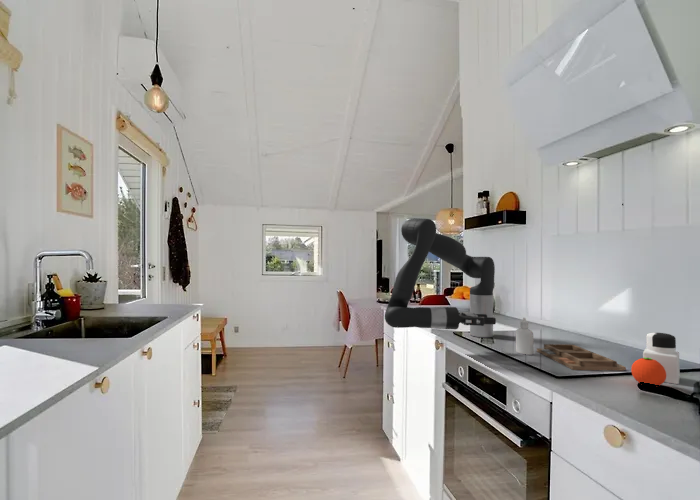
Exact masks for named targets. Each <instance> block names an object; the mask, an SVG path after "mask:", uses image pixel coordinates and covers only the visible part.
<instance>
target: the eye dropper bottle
mask: <svg viewBox="0 0 700 500" xmlns="http://www.w3.org/2000/svg"><path fill="white" fill-rule="evenodd" d="M519 324H520V327H519V328H518V329H515V352H516V353H517V354H521V355H525V354H526V355H527V356H531V355H532V356H533V355H534V353H535V349H534V348H535V347H534V344H535V343H534V332H533V331H532V330H531V329H529V322H528V321H527V318H526V317H523V318H522V320H521V321H520V323H519Z"/></svg>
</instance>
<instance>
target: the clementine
mask: <svg viewBox="0 0 700 500" xmlns="http://www.w3.org/2000/svg"><path fill="white" fill-rule="evenodd" d="M630 370H631V375H632V378H634V379H635V381H637V382H638V383H639V384H640V382H644V383H650V384H655V385H659V386H661V385H663V384H664V383H665V382H664V381H665V380H666V371H665V369H664V367H663V366H662V365H661V364H660V363H659V362H657V361H656V360H653V359H651V358H643V357H642V358H639V359H637V360H635V361H634V362H633V363H632V364H631V369H630Z"/></svg>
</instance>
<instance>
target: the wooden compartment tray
mask: <svg viewBox="0 0 700 500" xmlns="http://www.w3.org/2000/svg"><path fill="white" fill-rule="evenodd" d="M536 352H537V353H540V354H541V355H543V356H545V357H547V358H549V359H550V360H553V361H555V362H556V363H559V364H561V365H563V366H564V367H566V368H569V369H571V370H572V371H574V370H575V371H624V370H626V371H627V367H626V366H625V365H622V364H619V363H618V362H617V361H616V360H614V359H611V358H608V357H606V356H603V355H602V354H598V353H596V352H594V351H591V350H588V349H587V348H584V347H581V346H578V345H575V344H565V343H563V344H562V343H561V344H557V343H556V344H554V343H552V344H550V343H548V344H547V343H544V344H543V348H540V347H539V348H536Z"/></svg>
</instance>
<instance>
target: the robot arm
mask: <svg viewBox="0 0 700 500" xmlns="http://www.w3.org/2000/svg"><path fill="white" fill-rule="evenodd" d="M400 231H401V235H402V237H403V239H404V240H405V241H406V242H407V243H408V244H411V245H414V250H413V251H412V254H411V255H410V256H409V258H408V259H407V260H406V261H405V264H404V265H403V266H401V268H400V269H399V271H398V272H397V275H396V277H395V280H394V284H393V287H392V291H391V295H390V299H389V301H388V304H387V307H386V309H385V312H384V321H385V322H386V324H387V325H388V326H390V327H392V328H397V329H399V328H401V329H402V328H403V329H404V328H406V329H407V328H419V329H436V330H458V328H459V326H460V324H462V325H464V326H469V334H470V336H473V337H476V338H477V337H478V338H493V337H494V325H496V323H497V320H496V319H497V318H495V317H494V289H495V272H496V269H495V266H496V265H495V261H494V259H493V258H492V257H490V256H471V255H468V254H467V250H466V248H465V246H464V245H463V244H462V243H461V242H459V241H457V240H456V239H454V238H453V237H450V236H448V235H444V234H441V233H437V225H436V223H435V222H434V221H433V220H432V219H430V218H410V219H407V220H406V221H404V222H403V224H402V225H401V229H400ZM429 253H430V254H432V255H434V256H435V257H437V258H439V259H440V260H442V261H444V262H445V263H447V264H449V265H452V266H453V267H455V268H457V269H459V270H460V271H461V272H463V273H464V274H465V275H467V276H468V277H470V278H473V279H480V282H479V283H478V284H476V285H474V286H471V287H470V288H469V312H464V311H462V312H460V311H459V309H458V307H456V306H455V307H454V306H433V307H432V306H431V307H427V306H424V307H423V306H422V307H421V306H420V307H419V306H418V307H408V306H409V303H410V301H411V299H412V296H413V294H414V290H415V287H416V283H417V280H418V277H419V274H420V271H421V270H422V267H423V265H424V263H425V261H426V259H427V257H428V254H429Z"/></svg>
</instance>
